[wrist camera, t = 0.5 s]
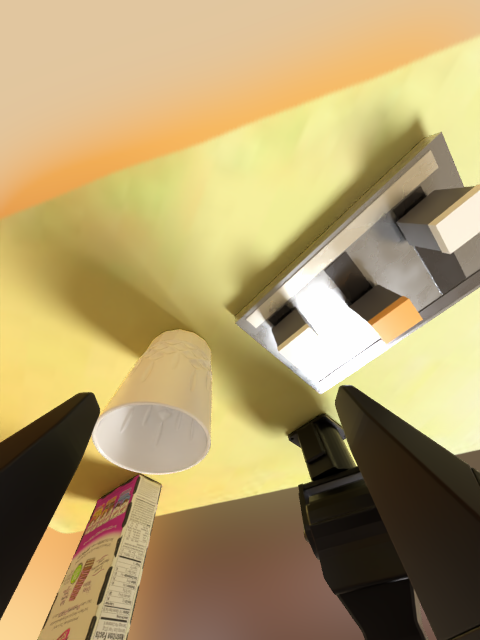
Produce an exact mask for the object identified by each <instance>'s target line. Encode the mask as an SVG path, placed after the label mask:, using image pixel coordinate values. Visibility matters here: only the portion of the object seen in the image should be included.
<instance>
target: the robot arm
mask: <svg viewBox="0 0 480 640" xmlns="http://www.w3.org/2000/svg"><path fill="white" fill-rule="evenodd" d="M335 406H336V410H337V413H338V416H339V418H340V421H341V424H342V427H343V428H342V427H341V426H339V425H338V424H337V423H336V422H334V421H333V420H332V419H330V418H329V417H328V416H327V415H325V414H322V415H320V416H318V417H317V418H315V419H313V420H312V421H310V422H309V423H307V424H306V425H304V426H302V427H301V428H299V429H298V430H296V431H295V432H293V433H291V434H290V435H289V436H288V438H289V441H291V442H292V443H294V444H296V445H297V446H299V447H300V448H301V449H302V452H303V455H304V459H305V462H306V464H307V468H308V471H309V474H310V477H311V480H312V482H309V483H306V484H300V485H298V487H299V499H300V505H301V511H302V517H303V525H304V537H305V539H306V541H307V542H309V543H310V545H311V547H312V550H313V552H314V554H315V556H316V558H317V559H318V560H320V563H321V567H322V571H323V575H324V579H325V580H326V582H327V584H328V585H329V587H330V588H331V590H332V591H333V593H334V594H335V595H337V596H338V598H339V599H340V601H341V602H342V604H343V605H344V606H345V608H346V609H347V611H348V612H349V614H350V615H351V616H352V618H353V619H354V621H355V622H356V623H357V625H358V626H359V628H360V629H361V631H362V633H363V635H364V638H365V640H428V637H427V635H426V633H425V631H424V629H423V626H422V619H421V610H420V603H421V606H422V608H423V610H424V612H425V614H426V616H427V619H428V621H429V623H430V625H431V627H432V630H433V632H434V634H435V636H436V638H437V640H480V472H479V471H477V470H475V469H474V468H471V467H470V466H469V465H468V464H467V463H465V462H464V461H462V460H461V459H459V458H458V457H457V456H455V455H454V454H452V453H451V452H449V451H448V450H446V449H445V448H443V447H442V446H440V445H439V444H437V443H436V442H435V441H433V440H432V439H430V438H429V437H427V436H426V435H424V434H423V433H421V432H420V431H418V430H417V429H415V428H414V427H412V426H411V425H410V424H408V423H407V422H405V421H404V420H402V419H401V418H399V417H398V416H396V415H395V414H393V413H392V412H390V411H389V410H387V409H386V408H385V407H383V406H382V405H380V404H379V403H377V402H376V401H374V400H373V399H371V398H370V397H368V396H367V395H365V394H364V393H363V392H361V391H360V390H358V389H357V388H355V387H354V386H352V385H342V386H340V387H339V390H338V393H337V396H336V400H335ZM99 414H100V408H99V405H98V403H97V400H96V398H95V395H94V394H93V393H91V392H83V393H78V394H76V395H75V396H73V397H72V398H70V399H69V400H67V401H65V402H64V403H62V404H61V405H59V406H58V407H56V408H54V409H53V410H51V411H50V412H48V413H46V414H45V415H43V416H42V417H40V418H39V419H37V420H35V421H34V422H32V423H31V424H29V425H28V426H26V427H24V428H23V429H21V430H20V431H18V432H16V433H15V434H13V435H12V436H10V437H9V438H7V439H5V440H4V441H2V442H1V443H0V619H1V618H2V616H3V613H4V612H5V609H6V608H7V606H8V604H9V602H10V600H11V598H12V596H13V594H14V592H15V590H16V588H17V586H18V584H19V582H20V580H21V578H22V576H23V574H24V572H25V570H26V568H27V566H28V564H29V562H30V560H31V558H32V556H33V554H34V552H35V550H36V548H37V546H38V544H39V543H40V540H41V539H42V537H43V535H44V533H45V531H46V529H47V527H48V525H49V523H50V521H51V519H52V517H53V515H54V513H55V511H56V509H57V507H58V505H59V503H60V501H61V499H62V497H63V495H64V493H65V491H66V489H67V487H68V485H69V483H70V481H71V479H72V477H73V475H74V474H75V472H76V470H77V468H78V465H79V463H80V461H81V459H82V457H83V455H84V452H85V450H86V447H87V445H88V442H89V440H90V437H91V435H92V432H93V430H94V427H95V424H96V422H97V419H98V417H99ZM344 439H347V442H348V444H349V447H350V450H351V452H352V454H353V457H354V459H355V461H356V463H357V465H358V466H356V465H355V463H354V461H353V459H352V457H351V455H350V453H349V451H348V449H347V447H346V445H345V443H344V441H343V440H344Z"/></svg>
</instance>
